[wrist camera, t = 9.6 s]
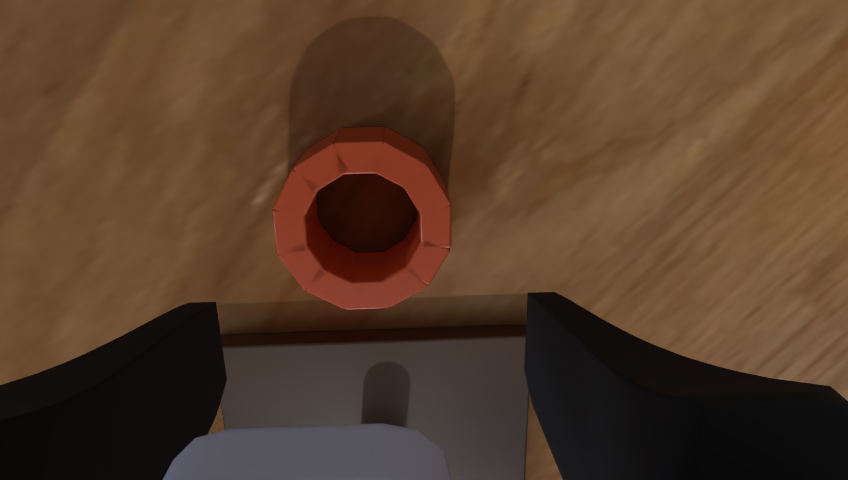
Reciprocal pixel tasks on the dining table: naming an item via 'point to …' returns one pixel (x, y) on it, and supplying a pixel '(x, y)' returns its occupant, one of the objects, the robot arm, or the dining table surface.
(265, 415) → the ring board
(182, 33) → the dining table surface
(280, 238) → the red ring
